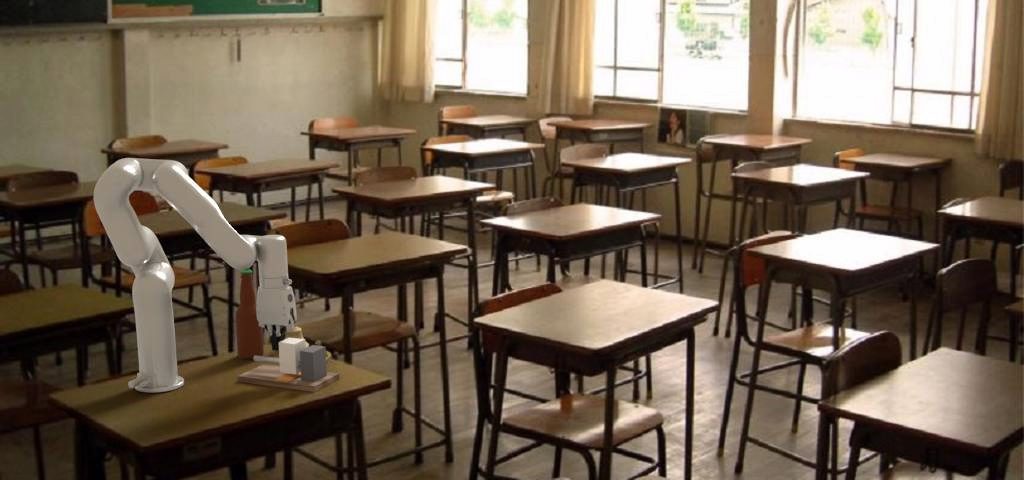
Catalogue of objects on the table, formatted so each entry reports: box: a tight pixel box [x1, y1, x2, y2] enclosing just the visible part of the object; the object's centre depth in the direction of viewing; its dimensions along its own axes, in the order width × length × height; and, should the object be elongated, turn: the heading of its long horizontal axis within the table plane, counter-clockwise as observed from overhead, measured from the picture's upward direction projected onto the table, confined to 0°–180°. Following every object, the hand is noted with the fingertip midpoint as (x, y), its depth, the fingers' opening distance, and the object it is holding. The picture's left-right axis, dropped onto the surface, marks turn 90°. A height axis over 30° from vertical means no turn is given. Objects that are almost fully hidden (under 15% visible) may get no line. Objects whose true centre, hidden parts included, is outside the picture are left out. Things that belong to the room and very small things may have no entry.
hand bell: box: [284, 296, 310, 348], centre depth 362 cm, size 8×8×16 cm
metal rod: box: [253, 355, 301, 366], centre depth 332 cm, size 1×16×1 cm, turn 66°
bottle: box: [234, 268, 265, 360], centre depth 352 cm, size 7×7×25 cm
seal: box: [314, 340, 333, 364], centre depth 350 cm, size 9×5×15 cm
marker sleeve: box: [278, 338, 306, 374], centre depth 330 cm, size 5×5×8 cm
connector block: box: [300, 344, 328, 382], centre depth 327 cm, size 6×4×8 cm, turn 156°
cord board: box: [237, 363, 340, 393], centre depth 332 cm, size 12×24×2 cm, turn 66°
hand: (277, 349), depth 332 cm, fingers closed
